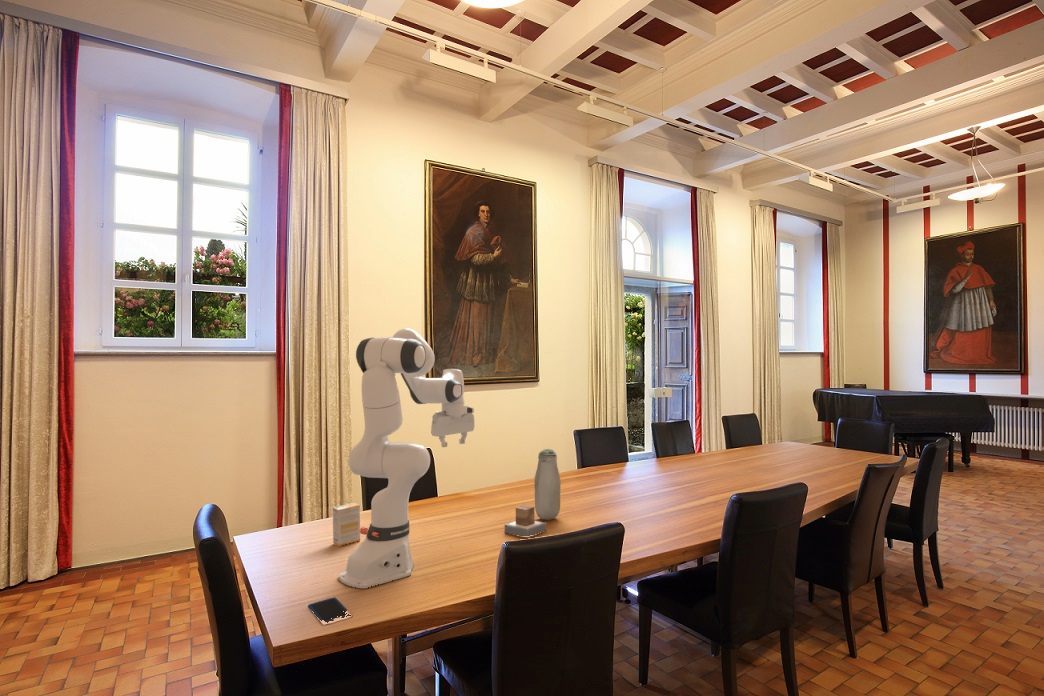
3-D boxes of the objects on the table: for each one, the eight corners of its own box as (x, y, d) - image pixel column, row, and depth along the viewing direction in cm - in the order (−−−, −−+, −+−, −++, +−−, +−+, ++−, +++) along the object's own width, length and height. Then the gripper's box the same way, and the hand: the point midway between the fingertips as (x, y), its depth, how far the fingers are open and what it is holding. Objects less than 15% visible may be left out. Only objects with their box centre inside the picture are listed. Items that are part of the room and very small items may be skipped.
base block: (527, 538, 192) (527, 529, 192) (504, 532, 199) (504, 524, 199) (546, 531, 200) (546, 522, 200) (523, 525, 207) (523, 517, 207)
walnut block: (526, 526, 196) (525, 509, 196) (515, 523, 199) (515, 507, 199) (534, 523, 200) (534, 506, 200) (524, 520, 203) (524, 504, 203)
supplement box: (354, 538, 195) (353, 502, 195) (360, 541, 191) (360, 504, 191) (332, 544, 189) (332, 506, 189) (338, 547, 185) (338, 509, 186)
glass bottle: (547, 524, 208) (547, 452, 209) (530, 518, 216) (529, 449, 217) (565, 519, 215) (564, 449, 215) (547, 513, 222) (547, 446, 223)
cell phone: (323, 627, 130) (323, 624, 130) (307, 607, 141) (307, 604, 141) (353, 618, 135) (353, 615, 135) (335, 599, 146) (334, 596, 146)
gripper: (438, 412, 199) (438, 449, 199) (476, 408, 215) (477, 442, 215) (427, 411, 203) (427, 448, 203) (465, 407, 219) (466, 441, 219)
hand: (453, 445), depth 209 cm, fingers open, 8 cm apart
